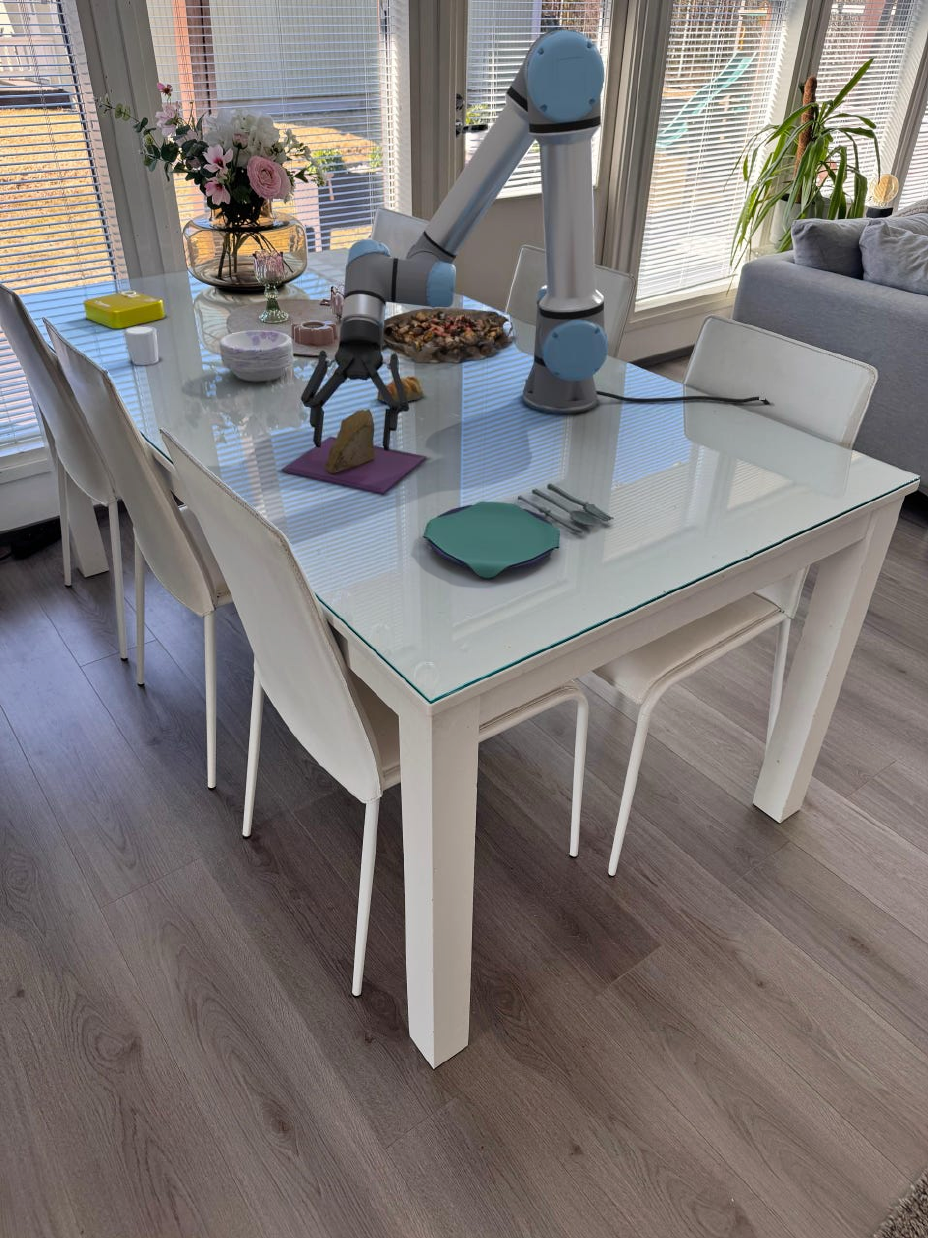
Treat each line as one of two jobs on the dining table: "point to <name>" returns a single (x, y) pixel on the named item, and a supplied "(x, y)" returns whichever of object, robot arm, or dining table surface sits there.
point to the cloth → (357, 468)
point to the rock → (352, 442)
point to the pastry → (405, 389)
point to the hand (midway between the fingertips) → (351, 446)
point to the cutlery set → (503, 533)
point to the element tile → (124, 309)
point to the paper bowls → (257, 354)
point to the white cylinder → (142, 344)
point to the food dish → (447, 334)
